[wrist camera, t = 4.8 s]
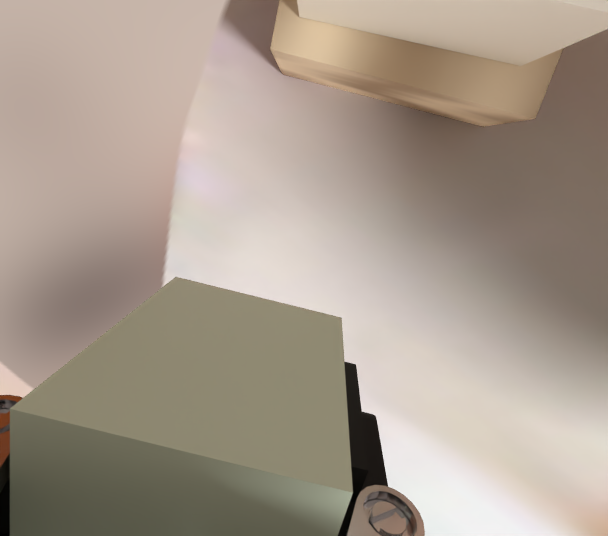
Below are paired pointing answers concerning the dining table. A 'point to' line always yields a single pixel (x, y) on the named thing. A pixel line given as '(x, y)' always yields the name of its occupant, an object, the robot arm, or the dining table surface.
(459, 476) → the dining table surface
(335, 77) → the tower base
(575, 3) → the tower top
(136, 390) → the sage block
